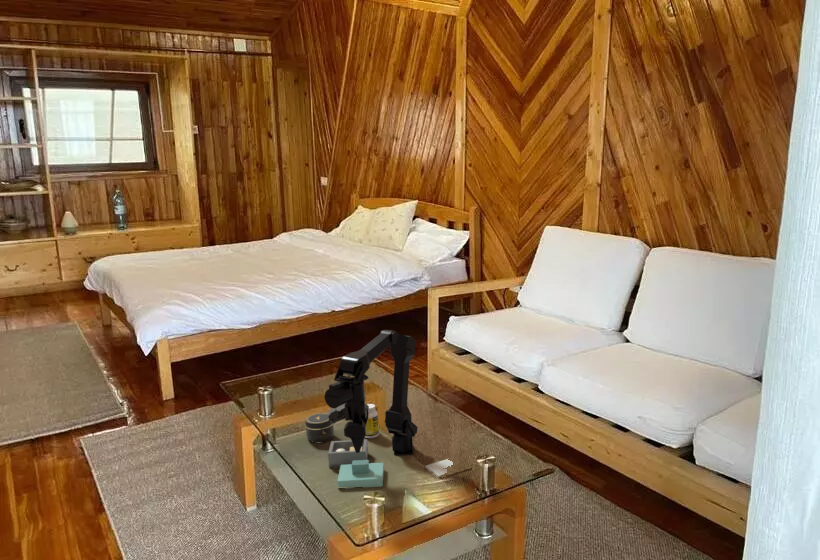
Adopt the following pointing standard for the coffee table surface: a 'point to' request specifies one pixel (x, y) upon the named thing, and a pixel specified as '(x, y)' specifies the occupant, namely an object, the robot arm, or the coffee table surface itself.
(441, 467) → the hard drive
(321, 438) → the jar
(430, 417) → the coffee table surface
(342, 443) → the storage box
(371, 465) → the lid
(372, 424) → the pill bottle
